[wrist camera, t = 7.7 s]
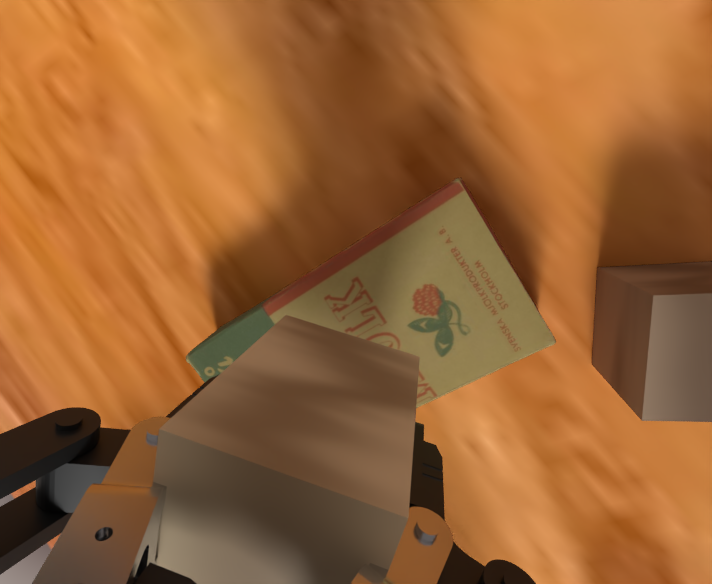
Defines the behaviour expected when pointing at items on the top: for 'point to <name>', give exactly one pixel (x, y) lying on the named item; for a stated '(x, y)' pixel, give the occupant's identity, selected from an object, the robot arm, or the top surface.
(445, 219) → the carton
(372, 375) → the oak block
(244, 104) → the top surface
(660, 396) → the walnut block
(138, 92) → the top surface
